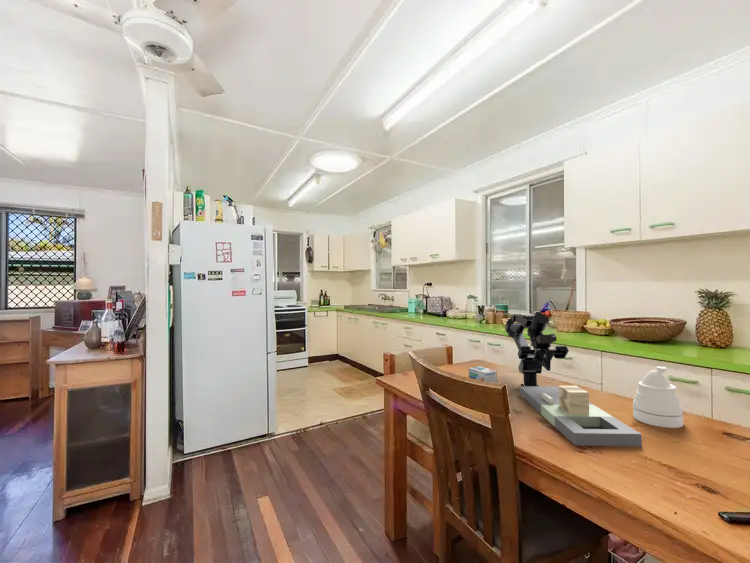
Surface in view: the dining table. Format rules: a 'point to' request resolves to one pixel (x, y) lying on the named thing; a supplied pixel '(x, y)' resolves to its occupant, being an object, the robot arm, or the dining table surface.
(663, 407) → the honey pot
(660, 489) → the dining table surface
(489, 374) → the light bulb box
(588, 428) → the platform
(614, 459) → the dining table surface
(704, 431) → the dining table surface
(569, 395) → the maple block
